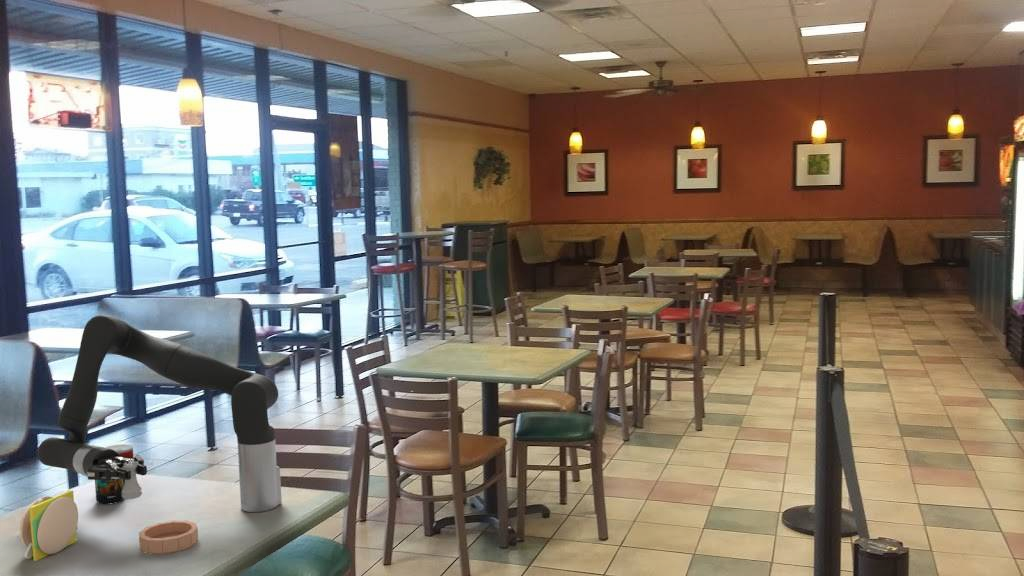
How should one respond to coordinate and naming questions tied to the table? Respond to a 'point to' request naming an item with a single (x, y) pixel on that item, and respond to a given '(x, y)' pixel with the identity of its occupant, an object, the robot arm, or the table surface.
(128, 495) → the rook chess piece
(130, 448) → the canned food
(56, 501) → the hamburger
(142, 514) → the table surface
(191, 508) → the table surface
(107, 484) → the beverage can
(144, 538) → the dish
